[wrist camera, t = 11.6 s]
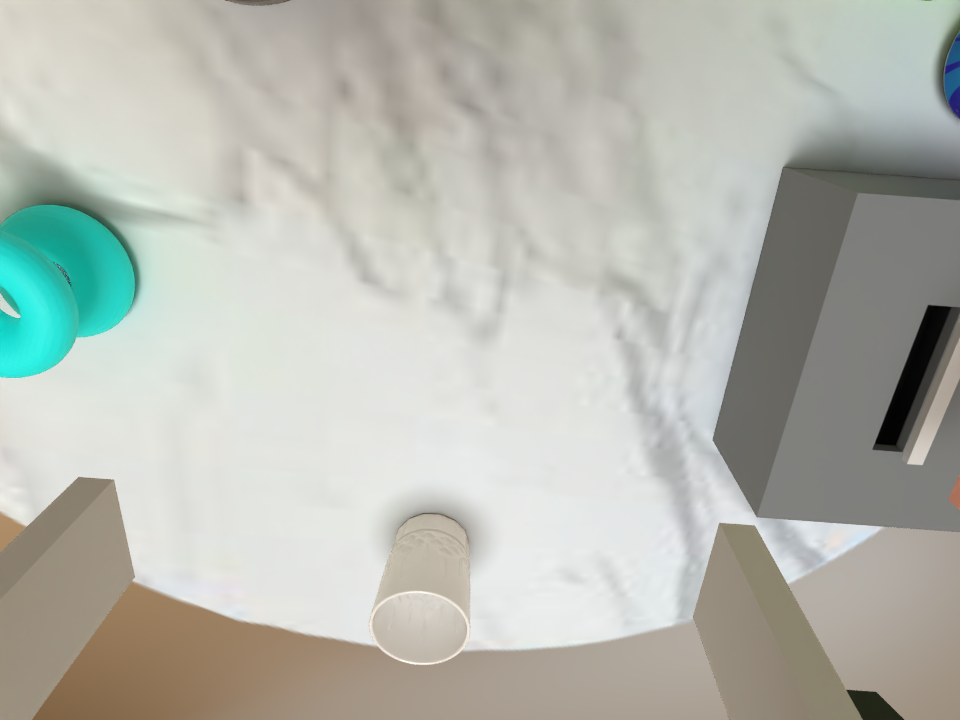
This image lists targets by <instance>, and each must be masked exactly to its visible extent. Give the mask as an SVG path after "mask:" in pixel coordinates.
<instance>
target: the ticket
mask: <svg viewBox="0 0 960 720" xmlns="http://www.w3.org/2000/svg"><path fill="white" fill-rule="evenodd" d="M948 500H949V501H950V502H951V503H952V504H953V505H954V506H955V507H957V508H958V509H959V510H960V475H959V477H958V479H957V481H956V483H955V485H954V487H953V490H952V492H951V494H950V496H949V498H948Z"/></svg>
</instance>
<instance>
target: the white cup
mask: <svg viewBox="0 0 960 720" xmlns="http://www.w3.org/2000/svg"><path fill="white" fill-rule="evenodd" d="M369 630H370V634H371V636H372V639H373V640H374V642H375V643H376V645H377V646H378V647H379V648H380V649H381V650H382V651H383V652H385V653H386V654H387V655H389V656H391V657H393V658H395V659H397V660H399V661H402V662H406V663H410V664H417V665H430V664H436V663H440V662H444V661H447V660H449V659H451V658H452V657H454V656H456V655H457V654H458V653H460V652H461V651H462V650H463V648H464V647H465V646H466V644H467V642H468V640H469V637H470V563H469V543H468V539H467V536H466V532H465V531H464V530H463V529H462V528H461V527H460V525H459V524H458V523H457V522H456V521H454V520H452V519H450V518H447V517H445V516H443V515H440V514H422V515H419V516H416V517H413V518H410V519H408V520H407V521H406V522H405V523H404V524H403V525H402V526H401V527H400V528H399V529H398V532H397V536H396V540H395V543H394V546H393V549H392V551H391V553H390V554H389V558H388V561H387V563H386V566H385V570H384V573H383V576H382V578H381V582H380V586H379V589H378V593H377V596H376V599H375V603H374V606H373V609H372V613H371V616H370V620H369Z"/></svg>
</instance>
